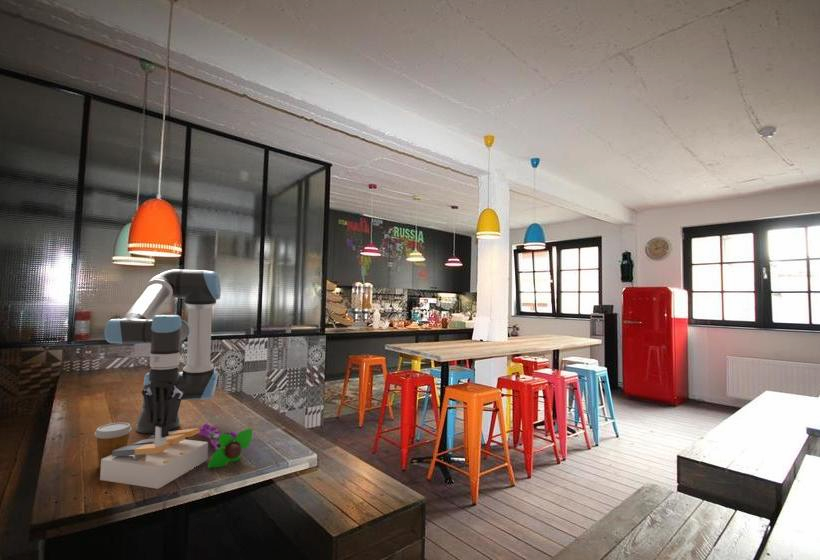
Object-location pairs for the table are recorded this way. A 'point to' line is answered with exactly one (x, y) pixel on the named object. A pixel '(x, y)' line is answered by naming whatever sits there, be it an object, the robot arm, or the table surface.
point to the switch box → (154, 465)
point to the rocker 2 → (183, 432)
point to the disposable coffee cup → (111, 438)
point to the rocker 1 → (139, 449)
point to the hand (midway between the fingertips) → (160, 447)
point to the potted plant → (226, 445)
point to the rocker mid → (170, 440)
